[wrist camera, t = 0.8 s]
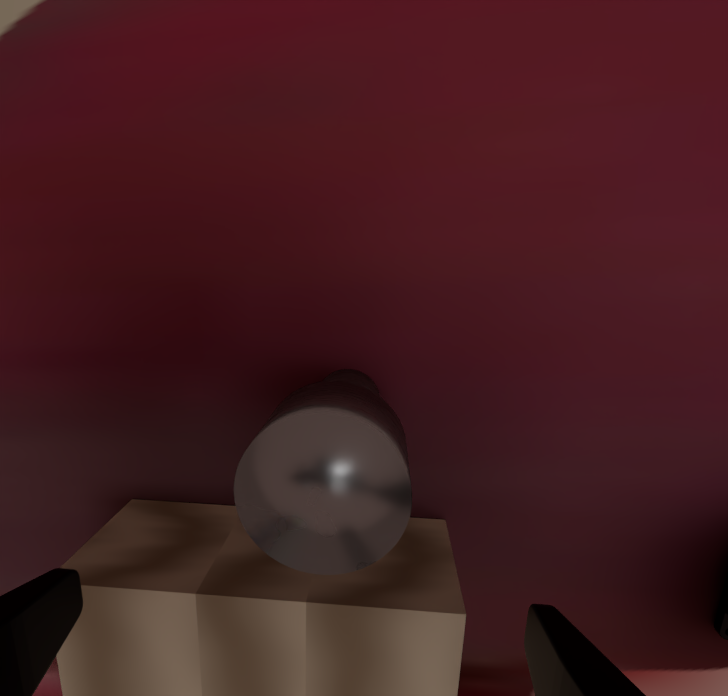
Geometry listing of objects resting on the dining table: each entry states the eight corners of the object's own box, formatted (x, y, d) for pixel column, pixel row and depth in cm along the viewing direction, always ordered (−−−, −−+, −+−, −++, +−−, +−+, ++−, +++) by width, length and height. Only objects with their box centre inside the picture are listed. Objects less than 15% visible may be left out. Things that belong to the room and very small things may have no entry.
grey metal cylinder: (404, 350, 18) (417, 419, 11) (398, 451, 20) (406, 581, 12) (295, 345, 19) (230, 409, 11) (295, 445, 20) (236, 568, 12)
